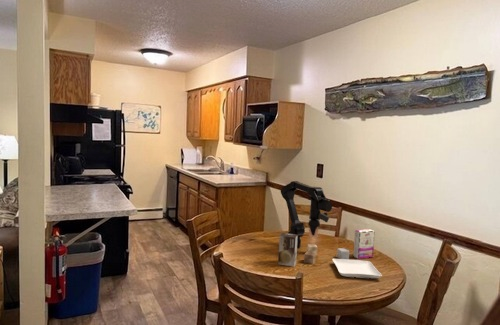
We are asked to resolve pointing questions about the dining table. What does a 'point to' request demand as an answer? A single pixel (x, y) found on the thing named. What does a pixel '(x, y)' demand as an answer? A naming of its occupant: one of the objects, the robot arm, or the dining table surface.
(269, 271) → the dining table surface
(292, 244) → the coffee box
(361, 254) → the candy bar box
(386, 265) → the dining table surface
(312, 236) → the terracotta block
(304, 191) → the robot arm
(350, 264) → the salad plate
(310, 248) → the maple block
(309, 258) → the walnut block
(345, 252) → the light gray block
